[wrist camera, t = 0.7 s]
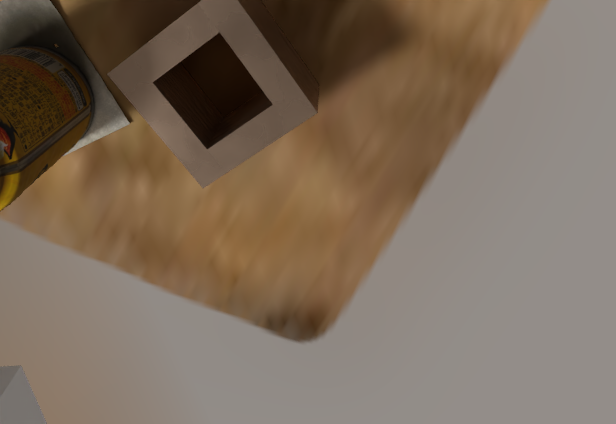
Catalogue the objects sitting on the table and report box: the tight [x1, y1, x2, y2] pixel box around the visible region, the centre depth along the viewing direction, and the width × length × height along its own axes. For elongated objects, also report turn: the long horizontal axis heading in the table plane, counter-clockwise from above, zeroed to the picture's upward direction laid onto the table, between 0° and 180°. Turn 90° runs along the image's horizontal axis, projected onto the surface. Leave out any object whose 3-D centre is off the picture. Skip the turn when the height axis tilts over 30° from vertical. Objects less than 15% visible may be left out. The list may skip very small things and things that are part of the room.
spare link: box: [107, 0, 319, 188], centre depth 30 cm, size 7×7×5 cm
